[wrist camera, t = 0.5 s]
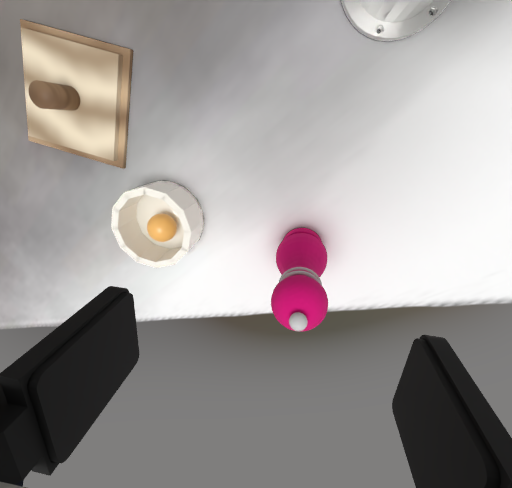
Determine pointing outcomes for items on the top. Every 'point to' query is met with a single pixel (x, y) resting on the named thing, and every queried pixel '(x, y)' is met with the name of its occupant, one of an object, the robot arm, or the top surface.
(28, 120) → the lid
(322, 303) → the pepper mill
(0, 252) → the top surface
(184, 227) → the bowl
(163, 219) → the orange ball
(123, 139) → the mat
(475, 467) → the robot arm
